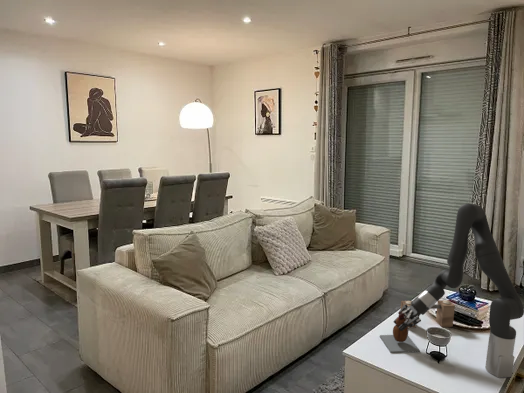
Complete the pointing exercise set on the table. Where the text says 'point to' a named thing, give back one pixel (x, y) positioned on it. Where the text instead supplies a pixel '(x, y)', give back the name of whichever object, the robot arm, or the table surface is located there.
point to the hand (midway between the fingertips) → (397, 326)
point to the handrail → (439, 312)
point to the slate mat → (399, 344)
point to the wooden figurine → (397, 333)
